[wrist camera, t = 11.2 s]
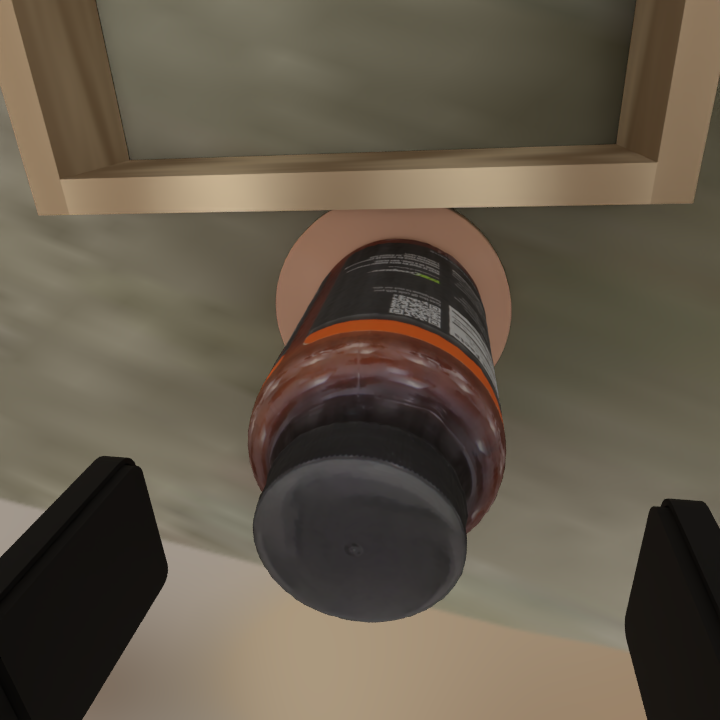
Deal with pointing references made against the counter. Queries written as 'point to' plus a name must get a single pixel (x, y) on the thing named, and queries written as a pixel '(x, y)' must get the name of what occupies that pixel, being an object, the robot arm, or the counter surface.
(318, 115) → the counter surface
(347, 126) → the counter surface
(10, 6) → the frame
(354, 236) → the saucer
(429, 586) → the supplement bottle
